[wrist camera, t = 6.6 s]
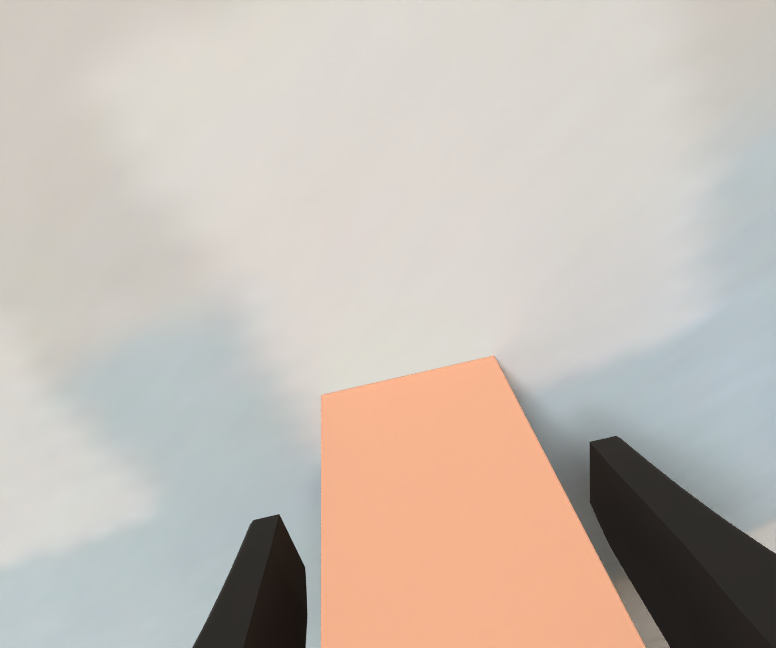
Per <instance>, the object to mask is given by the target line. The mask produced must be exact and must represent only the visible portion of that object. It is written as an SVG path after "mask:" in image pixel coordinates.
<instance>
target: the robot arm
mask: <svg viewBox="0 0 776 648" xmlns="http://www.w3.org/2000/svg"><path fill="white" fill-rule="evenodd" d="M590 503H591V505H592V508H593V510H594V512H595V514H596V517H597V519H598V521H599V523H600V526H601V528H602V530H603V532H604V534H605V536H606V538H607V541H608V543H609V545H610V547H611V548H612V550H613V552H614V554H615V555H616V557H617V559H618V560H619V562H620V564H621V566H622V567H623V569H624V571H625V572H626V574H627V576H628V577H629V579H630V581H631V582H632V584H633V586H634V587H635V589H636V591H637V592H638V594H639V596H640V597H641V599H642V601H643V602H644V604H645V606H646V607H647V609H648V611H649V612H650V614H651V616H652V617H653V619H654V621H655V623H656V624H657V626H658V628H659V629H660V631H661V633H662V634H663V636H664V638H665V639H666V641H667V643H668V644H669V646H670V648H776V554H775V553H774V552H772V551H771V550H769V549H768V548H766V547H765V546H763V545H762V544H760V543H759V542H757V541H756V540H754V539H753V538H751V537H750V536H748V535H747V534H745V533H744V532H742V531H741V530H739V529H738V528H736V527H735V526H733V525H732V524H731V523H729V522H728V521H726V520H725V519H723V518H722V517H721V516H719V515H718V514H716V513H715V512H714V511H712V510H711V509H710V508H708V507H707V506H706V505H704V504H703V503H702V502H700V501H699V500H697V499H696V498H695V497H693V496H692V495H691V494H689V493H688V492H687V491H685V490H684V489H683V488H681V487H680V486H679V485H678V484H676V483H675V482H674V481H672V480H671V479H670V478H669V477H667V476H666V475H665V474H664V473H662V472H661V471H660V470H658V469H657V468H656V467H655V466H653V465H652V464H651V463H650V462H649V461H647V460H646V459H645V458H644V457H642V456H641V455H640V454H639V453H638V452H636V451H635V450H634V449H633V448H632V447H630V446H629V445H628V444H627V443H625V442H624V441H623V440H622V439H621V438H619V437H617V436H614V437H610V438H605V439H601V440H597V441H592V442H590ZM306 630H307V592H306V573H305V566H304V564H303V562H302V560H301V558H300V556H299V554H298V552H297V550H296V548H295V546H294V544H293V542H292V540H291V538H290V535H289V533H288V531H287V529H286V527H285V525H284V523H283V521H282V519H281V517H280V515H279V514H278V515H274V516H270V517H265V518H261V519H257V520H253V521H252V523H251V524H250V526H249V529H248V531H247V533H246V536H245V538H244V540H243V543H242V545H241V547H240V550H239V552H238V554H237V557H236V559H235V561H234V564H233V566H232V568H231V570H230V572H229V575H228V577H227V579H226V581H225V583H224V586H223V588H222V590H221V592H220V594H219V596H218V598H217V600H216V602H215V604H214V606H213V608H212V610H211V613H210V615H209V617H208V619H207V621H206V623H205V625H204V627H203V629H202V631H201V632H200V634H199V636H198V638H197V640H196V642H195V644H194V646H193V647H192V648H305V646H306Z"/></svg>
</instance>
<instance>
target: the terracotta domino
mask: <svg viewBox="0 0 776 648" xmlns="http://www.w3.org/2000/svg"><path fill="white" fill-rule="evenodd" d="M321 648H646V647H645V645H644V643H643V642H642V640H641V638H640V636H639V634H638V632H637V630H636V628H635V626H634V624H633V622H632V620H631V618H630V616H629V615H628V613H627V611H626V609H625V607H624V605H623V603H622V601H621V599H620V597H619V595H618V593H617V591H616V590H615V588H614V586H613V584H612V582H611V580H610V578H609V576H608V574H607V572H606V570H605V568H604V566H603V565H602V563H601V561H600V559H599V557H598V555H597V553H596V551H595V549H594V547H593V545H592V543H591V541H590V539H589V538H588V536H587V534H586V532H585V530H584V528H583V526H582V524H581V522H580V520H579V518H578V516H577V514H576V513H575V511H574V509H573V507H572V505H571V503H570V501H569V499H568V497H567V495H566V493H565V491H564V489H563V488H562V486H561V484H560V482H559V480H558V478H557V476H556V474H555V472H554V470H553V468H552V466H551V464H550V462H549V461H548V459H547V457H546V455H545V453H544V451H543V449H542V447H541V445H540V443H539V441H538V439H537V437H536V436H535V434H534V432H533V430H532V428H531V426H530V424H529V422H528V420H527V418H526V416H525V414H524V412H523V410H522V409H521V407H520V405H519V403H518V401H517V399H516V397H515V395H514V393H513V391H512V389H511V387H510V385H509V384H508V382H507V380H506V378H505V376H504V374H503V372H502V370H501V368H500V366H499V364H498V362H497V360H496V359H495V357H494V356H491V357H486V358H482V359H477V360H473V361H469V362H464V363H460V364H456V365H451V366H447V367H442V368H438V369H434V370H429V371H425V372H421V373H416V374H412V375H408V376H403V377H399V378H394V379H390V380H386V381H381V382H377V383H373V384H368V385H364V386H360V387H355V388H351V389H346V390H342V391H338V392H333V393H329V394H325V395H321Z"/></svg>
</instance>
